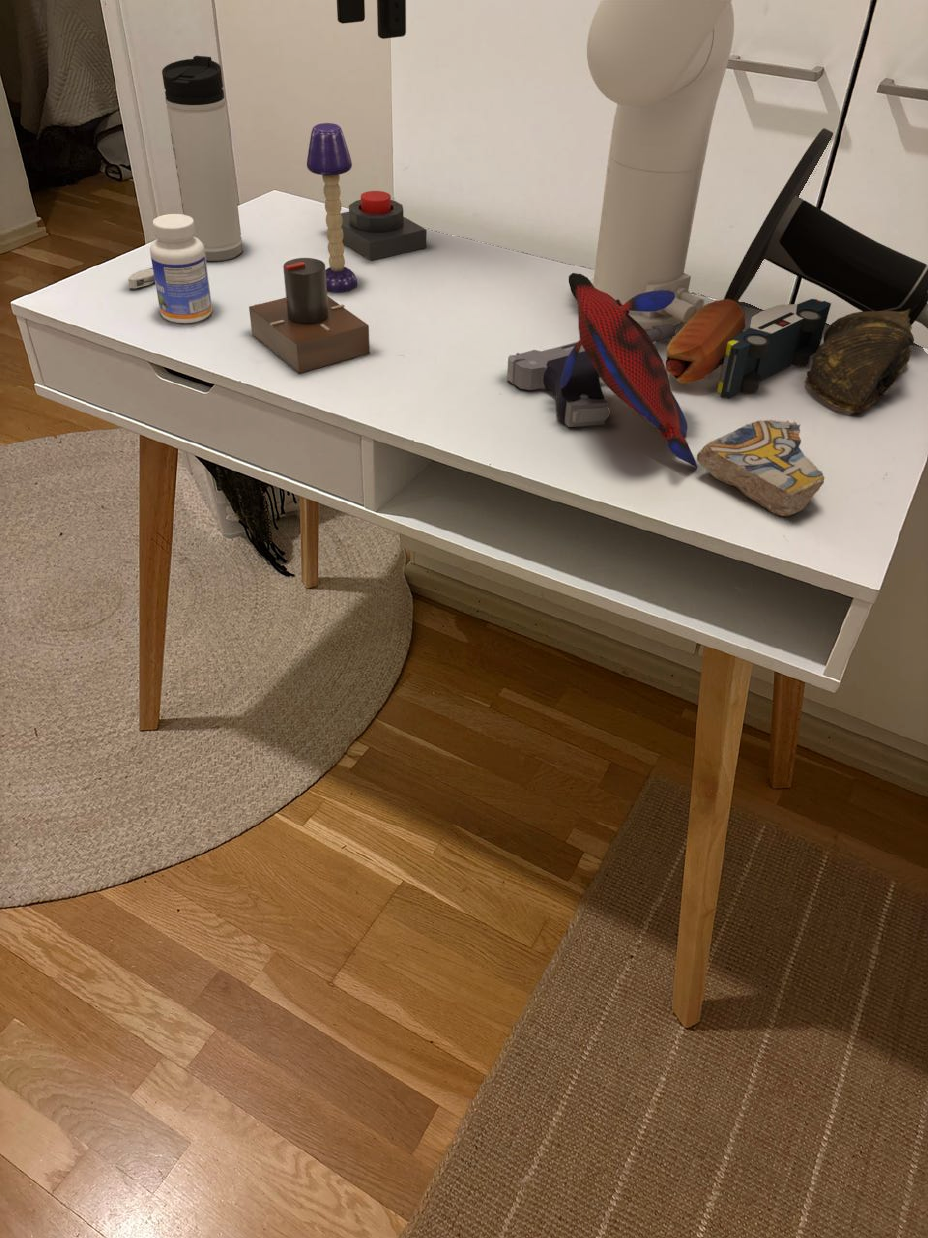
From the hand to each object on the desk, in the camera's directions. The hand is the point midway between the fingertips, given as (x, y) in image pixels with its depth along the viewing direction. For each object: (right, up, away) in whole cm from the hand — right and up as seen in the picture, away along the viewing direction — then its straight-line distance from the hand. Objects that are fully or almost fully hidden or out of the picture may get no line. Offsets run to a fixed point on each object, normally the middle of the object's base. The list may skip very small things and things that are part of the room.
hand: (371, 27), depth 107 cm
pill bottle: (-19, -31, -2) cm, 37 cm away
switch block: (-1, -17, +15) cm, 23 cm away
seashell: (+50, -40, -8) cm, 64 cm away
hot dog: (+36, -36, -11) cm, 52 cm away
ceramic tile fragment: (+40, -51, -23) cm, 68 cm away
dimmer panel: (-6, -36, -6) cm, 37 cm away
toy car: (+42, -38, -10) cm, 57 cm away
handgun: (+28, -43, -15) cm, 54 cm away
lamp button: (-1, -14, +13) cm, 19 cm away
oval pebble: (-25, -26, +4) cm, 36 cm away
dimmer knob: (-6, -33, -8) cm, 35 cm away
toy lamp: (-4, -26, +5) cm, 27 cm away
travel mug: (-19, -20, +11) cm, 30 cm away
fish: (+21, -41, -26) cm, 53 cm away
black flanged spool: (+42, -21, -2) cm, 47 cm away
